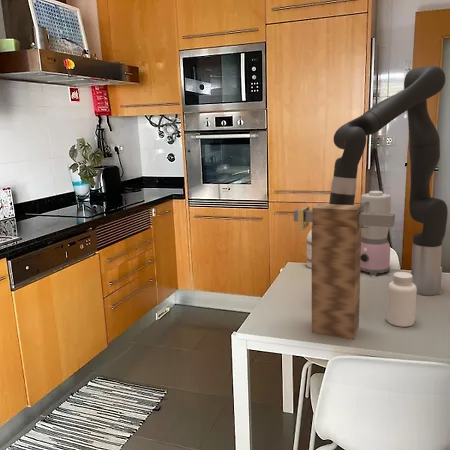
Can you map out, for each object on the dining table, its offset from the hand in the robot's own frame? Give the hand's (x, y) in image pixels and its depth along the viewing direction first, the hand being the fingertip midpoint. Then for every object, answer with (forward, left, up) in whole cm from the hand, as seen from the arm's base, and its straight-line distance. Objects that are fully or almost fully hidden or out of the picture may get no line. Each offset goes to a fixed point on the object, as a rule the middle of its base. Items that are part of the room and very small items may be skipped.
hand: (336, 242), depth 147 cm
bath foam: (+7, -42, -22) cm, 48 cm away
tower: (+1, +17, -22) cm, 28 cm away
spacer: (+10, +15, +8) cm, 19 cm away
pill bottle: (-19, +9, -22) cm, 31 cm away
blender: (-15, -37, -22) cm, 46 cm away
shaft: (-1, +17, +10) cm, 20 cm away
